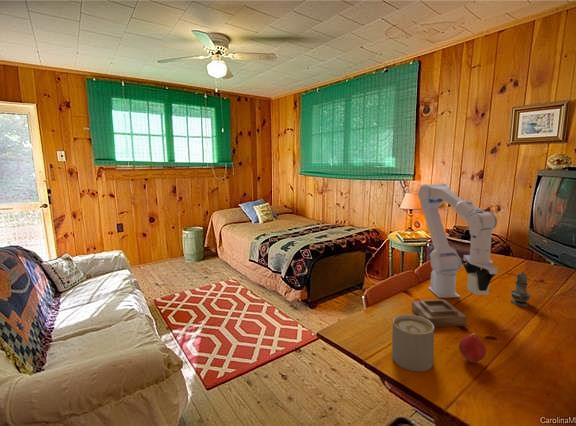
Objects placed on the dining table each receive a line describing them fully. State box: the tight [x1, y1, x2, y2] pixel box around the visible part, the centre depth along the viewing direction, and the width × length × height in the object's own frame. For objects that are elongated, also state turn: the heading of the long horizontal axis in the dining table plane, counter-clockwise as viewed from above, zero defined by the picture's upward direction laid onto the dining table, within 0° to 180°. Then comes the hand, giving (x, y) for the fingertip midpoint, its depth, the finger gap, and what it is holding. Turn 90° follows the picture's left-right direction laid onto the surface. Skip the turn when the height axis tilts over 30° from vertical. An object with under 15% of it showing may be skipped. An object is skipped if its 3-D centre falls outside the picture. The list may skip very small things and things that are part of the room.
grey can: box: [391, 313, 435, 372], centre depth 78 cm, size 13×10×10 cm
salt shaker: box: [510, 270, 532, 307], centre depth 106 cm, size 6×6×12 cm
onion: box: [458, 333, 487, 364], centre depth 76 cm, size 6×6×8 cm
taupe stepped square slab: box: [411, 298, 467, 328], centre depth 99 cm, size 12×12×4 cm
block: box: [466, 273, 490, 296], centre depth 101 cm, size 4×4×6 cm
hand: (477, 287), depth 101 cm, fingers closed on block, 4 cm apart
